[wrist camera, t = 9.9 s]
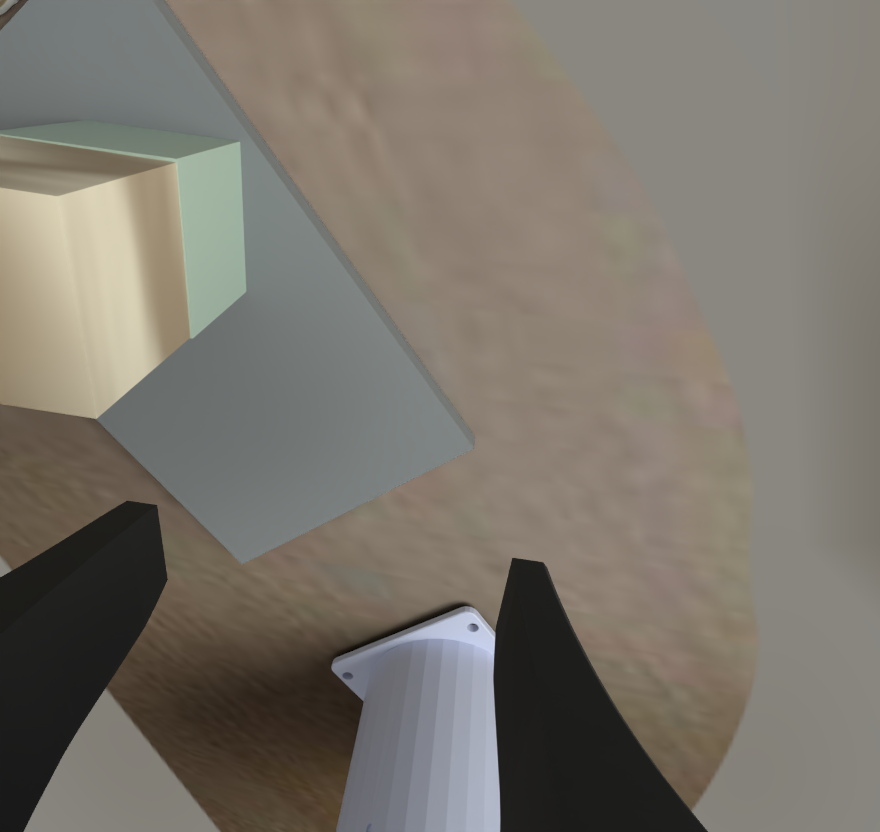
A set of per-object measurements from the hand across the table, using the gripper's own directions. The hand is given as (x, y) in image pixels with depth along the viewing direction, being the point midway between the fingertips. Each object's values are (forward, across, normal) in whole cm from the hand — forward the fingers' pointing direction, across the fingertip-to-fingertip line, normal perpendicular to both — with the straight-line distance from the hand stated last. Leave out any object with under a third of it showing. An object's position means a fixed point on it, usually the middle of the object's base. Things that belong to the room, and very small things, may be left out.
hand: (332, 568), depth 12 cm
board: (+10, +7, 0) cm, 13 cm away
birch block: (+6, +7, -4) cm, 10 cm away
